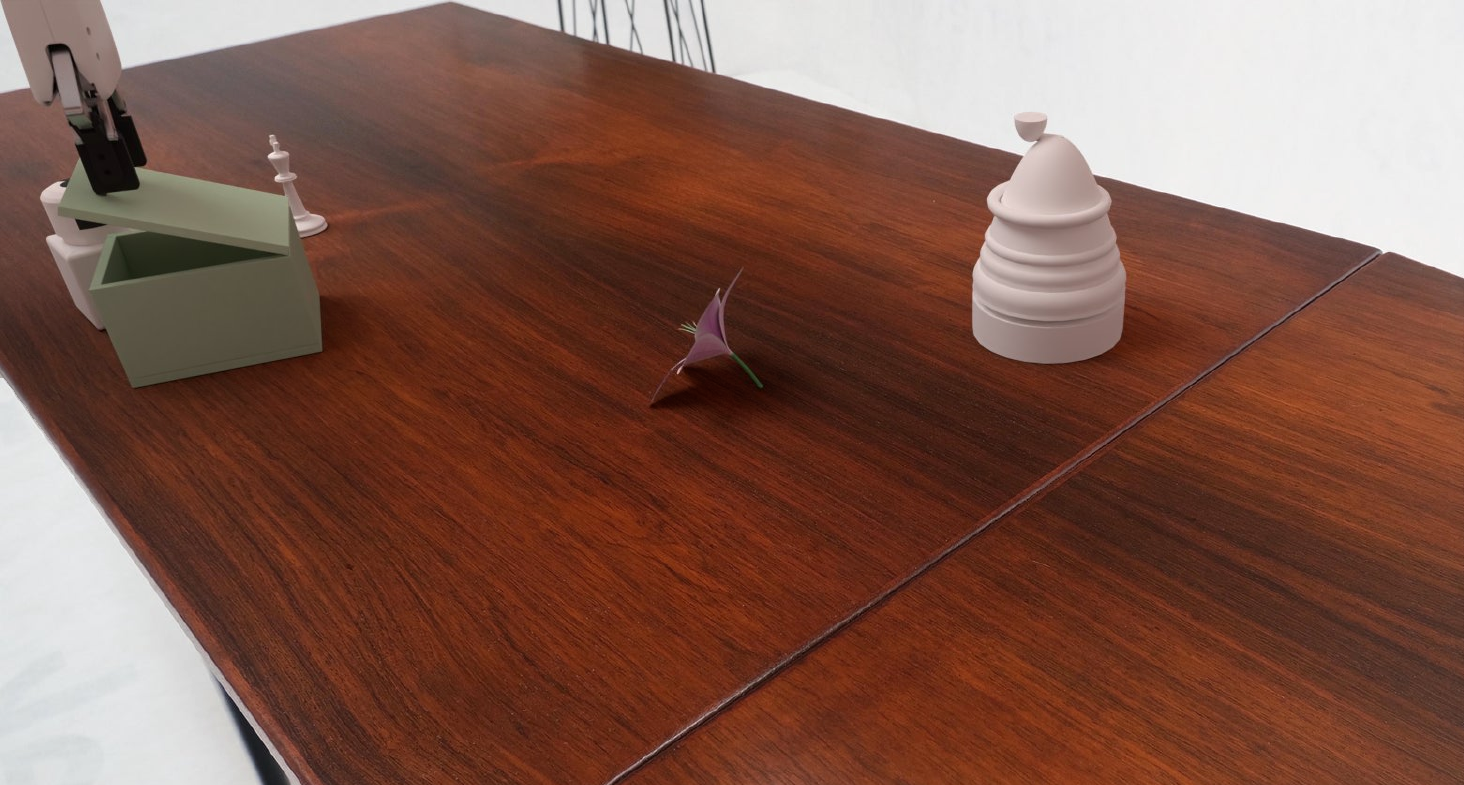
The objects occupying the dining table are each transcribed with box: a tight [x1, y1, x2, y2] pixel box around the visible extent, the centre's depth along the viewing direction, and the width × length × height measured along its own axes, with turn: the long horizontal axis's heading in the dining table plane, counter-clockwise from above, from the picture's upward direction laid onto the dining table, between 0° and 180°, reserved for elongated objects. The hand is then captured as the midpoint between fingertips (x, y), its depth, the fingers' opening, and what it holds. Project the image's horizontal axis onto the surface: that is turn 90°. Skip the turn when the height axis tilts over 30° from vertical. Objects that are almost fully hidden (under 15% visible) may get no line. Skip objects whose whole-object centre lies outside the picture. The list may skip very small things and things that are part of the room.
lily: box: [648, 266, 764, 407], centre depth 95 cm, size 12×12×10 cm
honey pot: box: [971, 111, 1127, 365], centre depth 98 cm, size 13×13×18 cm
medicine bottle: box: [39, 177, 138, 331], centre depth 109 cm, size 7×7×12 cm
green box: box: [89, 206, 323, 389], centre depth 104 cm, size 15×13×9 cm
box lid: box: [58, 129, 289, 255], centre depth 98 cm, size 16×13×5 cm
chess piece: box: [267, 134, 328, 239], centre depth 124 cm, size 5×5×10 cm
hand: (121, 176), depth 96 cm, fingers closed on box lid, 5 cm apart
